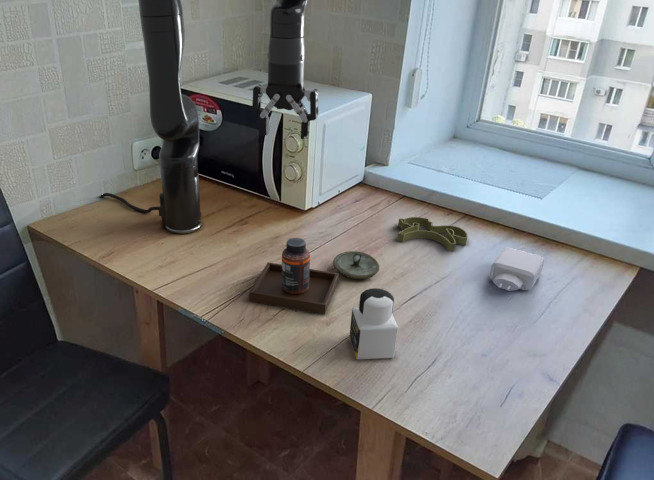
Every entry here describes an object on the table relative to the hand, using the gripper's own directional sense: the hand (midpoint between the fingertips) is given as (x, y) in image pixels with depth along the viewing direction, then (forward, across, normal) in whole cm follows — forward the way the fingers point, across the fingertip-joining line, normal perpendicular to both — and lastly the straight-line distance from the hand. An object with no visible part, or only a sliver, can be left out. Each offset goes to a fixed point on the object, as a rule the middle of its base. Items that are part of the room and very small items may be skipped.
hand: (284, 136), depth 134 cm
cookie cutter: (+28, -34, -18) cm, 48 cm away
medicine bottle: (+28, -27, +33) cm, 51 cm away
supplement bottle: (+28, -8, +18) cm, 34 cm away
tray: (+28, -8, +18) cm, 34 cm away
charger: (+28, -53, 0) cm, 60 cm away
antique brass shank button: (+28, -19, +5) cm, 34 cm away
